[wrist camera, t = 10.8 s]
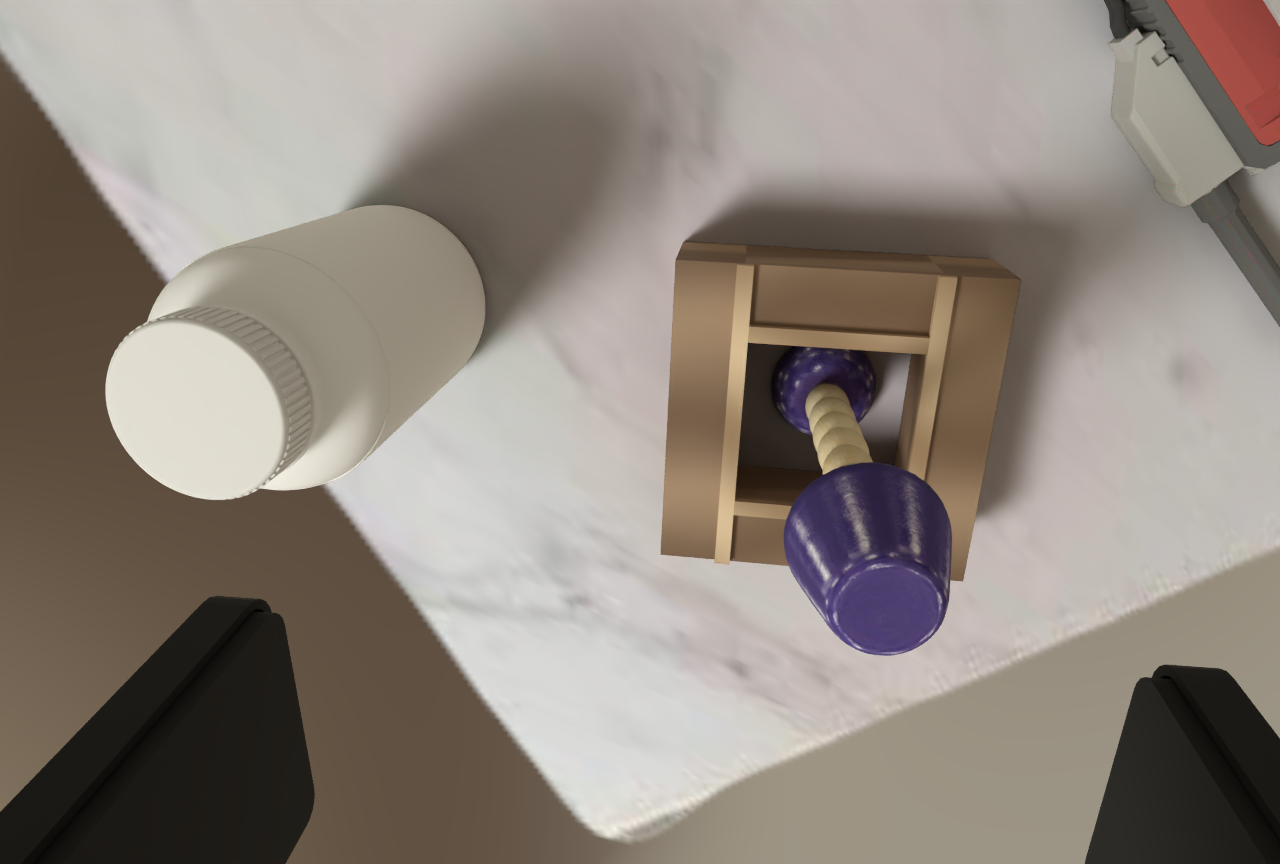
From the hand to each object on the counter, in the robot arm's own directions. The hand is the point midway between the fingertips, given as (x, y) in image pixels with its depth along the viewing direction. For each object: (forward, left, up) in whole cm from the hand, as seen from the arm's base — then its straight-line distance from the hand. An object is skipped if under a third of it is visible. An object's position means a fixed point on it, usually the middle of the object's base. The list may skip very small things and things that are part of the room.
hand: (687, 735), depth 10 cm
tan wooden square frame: (+5, +4, -28) cm, 29 cm away
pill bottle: (+2, -14, -28) cm, 32 cm away
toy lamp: (+5, +4, -28) cm, 29 cm away
